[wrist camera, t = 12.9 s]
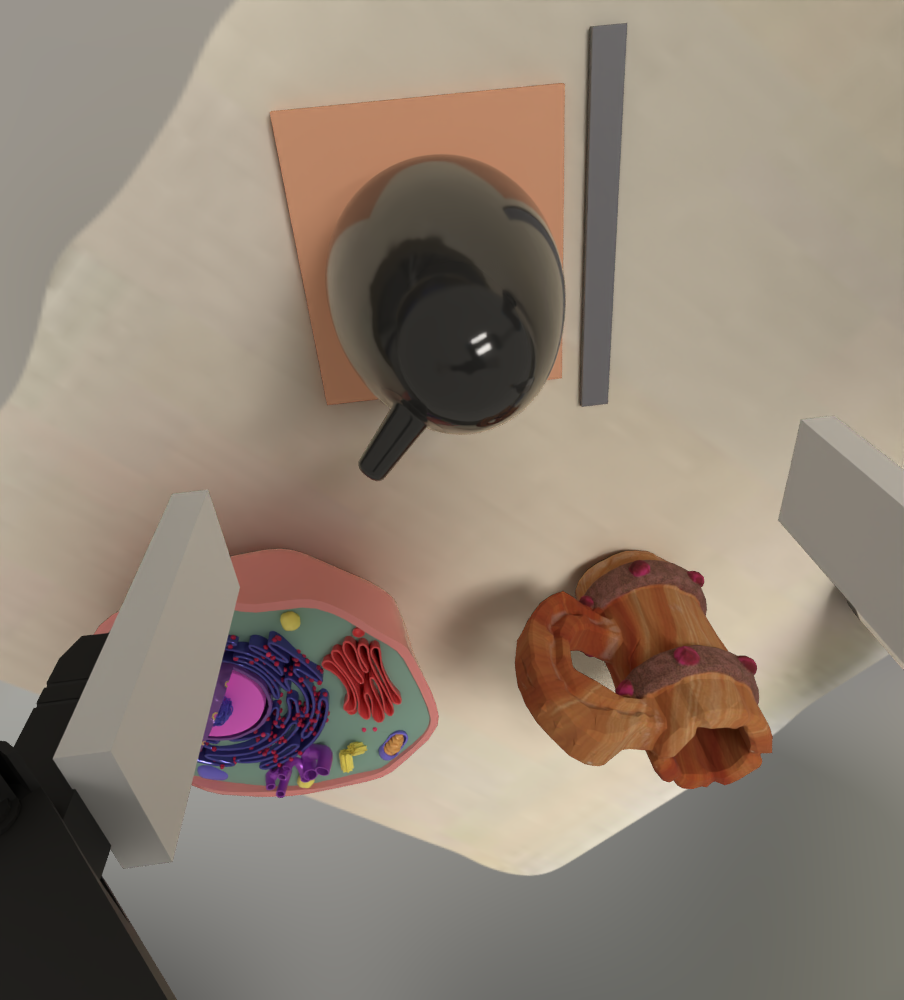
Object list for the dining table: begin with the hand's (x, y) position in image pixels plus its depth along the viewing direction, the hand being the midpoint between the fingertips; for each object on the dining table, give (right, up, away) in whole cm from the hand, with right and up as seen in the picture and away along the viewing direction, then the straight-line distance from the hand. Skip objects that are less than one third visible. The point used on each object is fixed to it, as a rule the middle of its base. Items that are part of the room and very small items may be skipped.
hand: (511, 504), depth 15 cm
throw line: (+6, +13, +19) cm, 24 cm away
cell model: (-13, -7, +31) cm, 34 cm away
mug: (+8, -5, +32) cm, 33 cm away
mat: (-2, +12, +19) cm, 23 cm away
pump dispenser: (-2, +12, +19) cm, 22 cm away
